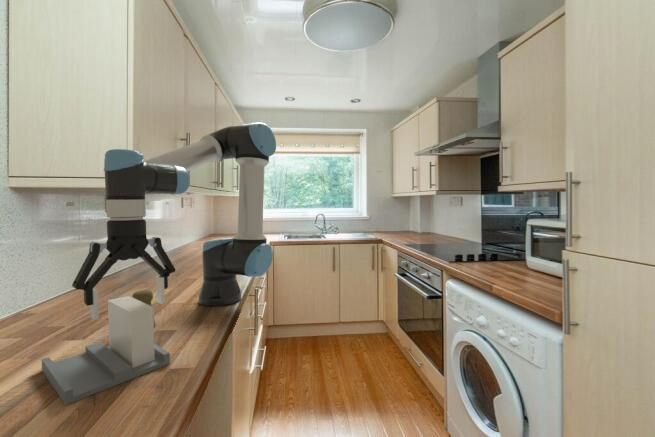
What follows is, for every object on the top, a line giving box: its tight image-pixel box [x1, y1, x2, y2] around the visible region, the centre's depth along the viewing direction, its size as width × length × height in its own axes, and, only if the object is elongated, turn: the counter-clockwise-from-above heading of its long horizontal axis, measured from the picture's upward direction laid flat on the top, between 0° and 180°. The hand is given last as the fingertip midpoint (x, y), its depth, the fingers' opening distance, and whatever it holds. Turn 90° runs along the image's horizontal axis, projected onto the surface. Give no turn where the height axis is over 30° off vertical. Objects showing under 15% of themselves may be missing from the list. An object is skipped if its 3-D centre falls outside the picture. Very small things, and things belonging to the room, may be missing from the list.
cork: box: [131, 289, 156, 329], centre depth 90 cm, size 6×6×11 cm
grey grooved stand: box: [41, 341, 171, 406], centre depth 68 cm, size 18×19×2 cm
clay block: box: [107, 295, 155, 368], centre depth 72 cm, size 4×14×12 cm, turn 52°
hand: (130, 310), depth 72 cm, fingers open, 13 cm apart
